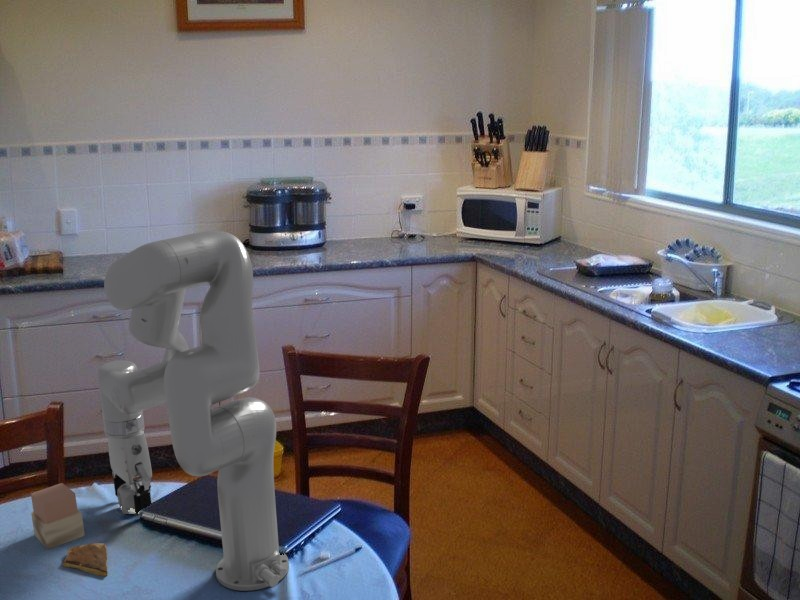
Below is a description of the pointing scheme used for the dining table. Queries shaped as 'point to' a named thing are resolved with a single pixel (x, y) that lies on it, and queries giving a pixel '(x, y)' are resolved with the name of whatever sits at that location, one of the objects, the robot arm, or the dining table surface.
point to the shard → (88, 558)
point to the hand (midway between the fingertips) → (133, 502)
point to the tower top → (54, 503)
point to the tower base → (58, 529)
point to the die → (126, 496)
